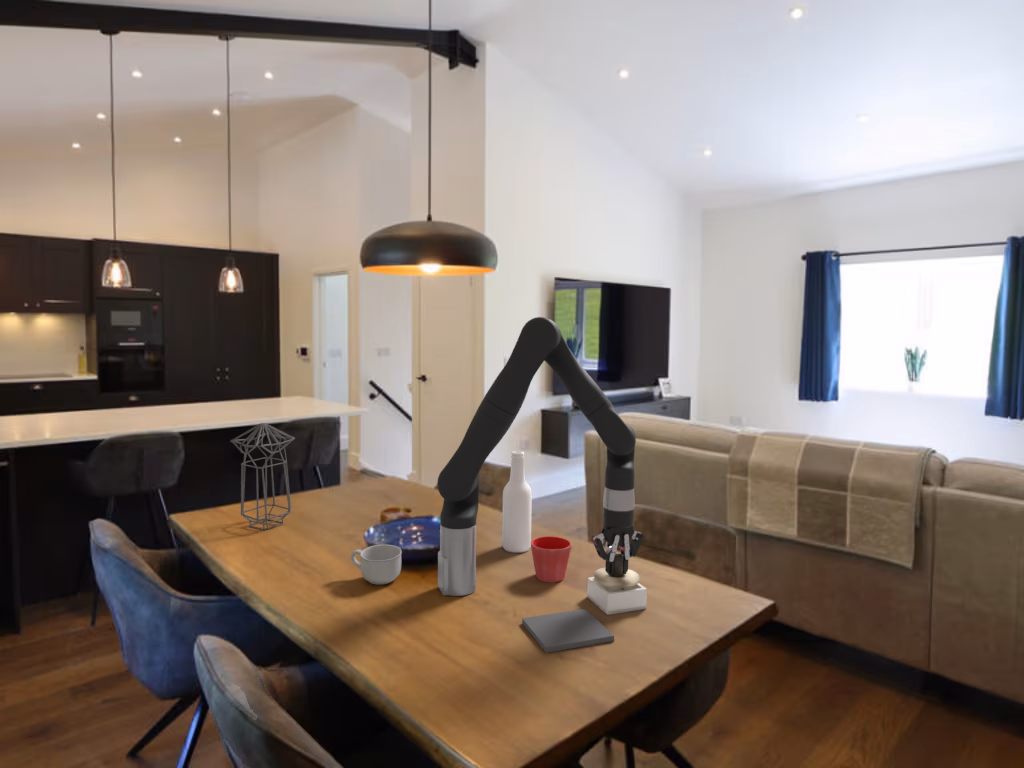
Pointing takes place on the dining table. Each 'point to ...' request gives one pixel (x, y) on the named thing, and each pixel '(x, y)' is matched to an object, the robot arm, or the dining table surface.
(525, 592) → the dining table surface
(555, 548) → the flower pot
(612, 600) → the dish
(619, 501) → the robot arm
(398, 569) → the teacup
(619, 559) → the lid
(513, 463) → the alcohol
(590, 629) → the mat
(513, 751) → the dining table surface
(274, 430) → the geometric lantern
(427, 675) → the dining table surface
